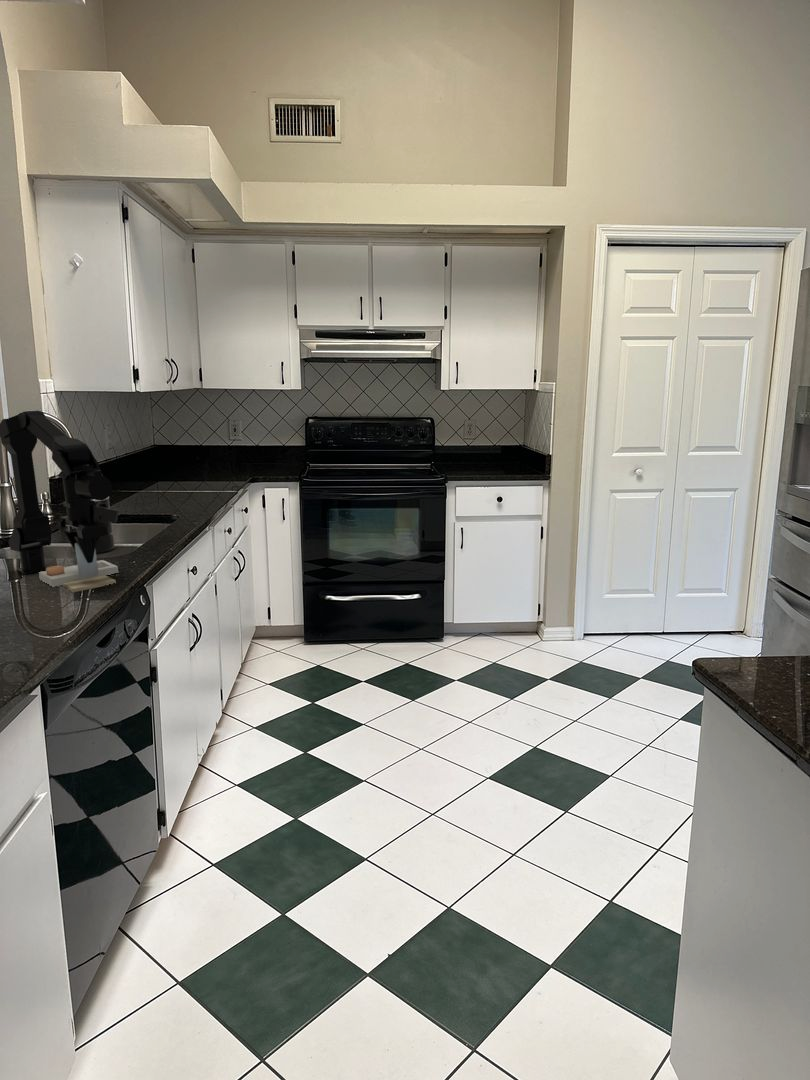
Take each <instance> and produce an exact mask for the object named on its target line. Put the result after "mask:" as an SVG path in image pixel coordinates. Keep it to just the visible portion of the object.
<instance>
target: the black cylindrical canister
mask: <svg viewBox="0 0 810 1080" xmlns="http://www.w3.org/2000/svg"><path fill="white" fill-rule="evenodd" d="M88 466H89V465H88ZM102 476H104V475H103V474H102ZM92 500H93V499H92ZM94 501H95V502H96V504H97V503H98V502H101V503H105V504H107V508H110V509H111V506H110V496H109V497H108V498H106V499H104V500H94ZM99 522H102V523H105V524H106V525H107V526H109V533H110V534H109V535H105V536H102V537H100V538H99V539H98V540H97V542H96V546H95V550H96V555H97V554H102V553H107V552H109V551H111V550H113V549H114V548H115V539H114V532H113V531H114V530H113V523H111V522H110V521H104V520H99Z"/></svg>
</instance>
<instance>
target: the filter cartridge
mask: <svg viewBox="0 0 810 1080" xmlns="http://www.w3.org/2000/svg"><path fill="white" fill-rule="evenodd" d="M74 551H76V552H75V556H76V565H77V566H78V573H79V577H81V578H87V577H93V576H97V575H98V566H97V561H98V558H97V554H96V550H95V552H94V557H93V562H92V563H87V561H86V559H85V557H84V555H83V553H82V551H81V549H80V547H79V545H78V544H77V543H75V550H74Z"/></svg>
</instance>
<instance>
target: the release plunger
mask: <svg viewBox="0 0 810 1080" xmlns="http://www.w3.org/2000/svg"><path fill="white" fill-rule="evenodd" d="M64 567H65V566H64V565H52V566H48V568H46V570H45V571H46V572H47V574H48V575H49V576H55V575H60V574H64V573H63V572H64Z"/></svg>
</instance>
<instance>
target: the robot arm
mask: <svg viewBox="0 0 810 1080" xmlns="http://www.w3.org/2000/svg"><path fill="white" fill-rule="evenodd" d="M38 440H39V441H40V442H41V443H42V444H43V445H44V446H45V447H46V448H47V449H49V450H50V452H51V460H52V461H53V462H54V463H55V465H56V466H57V467H58V469H59V470H60V472H59V473H58V478H61V479H62V485H63V493H64V494H63V495H64V499H65V501H62V506H63V507H65V509H66V515H64V516H59V517H58V518H57V519H56V521H55V522H56V523H55V524H56V530H57V529H58V530H60V531H62V530H64V528H65V530H64V531H62V534H63V536H65V538H66V539H67V541H68V542H69V544H70V546H71V547H72V548H73V550H74V551H75V543H77V544H78V545H79V547H80V549H81V551H82V553H83V555H84V557H85V559H86V561H87V563H92V562H93V557H94V552H95V546H96V542H97V540H98V539H99V538H100V537H102V536H105V535H109V534H110V533H109V526H107V525H106V524H105V523H102V522H99V520H104V521H110V522H111V523H112V524H117V520H118V517H119V512H120V511H119V510H118V509H117V510H116V509H113V508H111V507H110V508H107V504H105V503H101V502H98V503H97V504H96V502H95V501H94V500H104V499H106V498H108V497H109V498H110V496H111V493H112V491H113V486H112V483H111V480H109V478H108V477H107V476H104V475H103V471H102V469H101V467H100V463H99V462H98V460H97V459H96V457H95V456H94V454H93V452H92V450H91V449H90V447H89V446H88V445H87V443H85V442H83V441H81V440H79V438H78V439H77V438H73V437H70V436H68V435H66V434H65V433H64V432H63V431H62V430H60V429H59V428H58V427H57V426H56V425H55V424H54V423H53V422H51V421H50V419H48V418H47V417H46V415H45V412H43V411H40V410H39V409H38V410H27V411H26V410H24V411H22V412H19V413H18V414H17V415H14V416H10V417H8V418H3V419H1V421H0V442H1V444H2V446H3V447H4V448H5V450H7V451H8V453H9V454H10V459H11V467H12V473H13V480H14V487H15V495H16V500H17V501H16V502H17V509H18V510H17V511H16V512H17V513H16V514H15V516H14V518H13V520H12V521H13V522H12V525H13V530H12V532H11V535H10V538H9V540H8V545H9V549H10V550H11V551H15V552H18V553H19V559H20V566H21V567H18V568H17V571H18V570H19V571H18V572H20V571H21V572H20V573H22V572H23V573H29V574H32V573H31V572H35V573H37V572H36V571H40V572H42V571H41V570H45V571H46V568H48V567H49V566H48V565H46V558H45V552H44V547H47V546H51V545H52V544H51V543H52V528H51V524H50V517H49V516H48V515H46V514H45V513H44V512H43V511H42V510H41V509H40V502H39V495H38V490H37V489H38V487H37V481H36V473H35V466H34V459H33V458H34V457H33V451H34V449H35V448H36V446H37V443H38ZM88 465H89V466H88ZM102 475H103V476H102ZM92 499H93V500H92ZM75 553H76V551H75ZM23 573H22V574H23Z"/></svg>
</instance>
